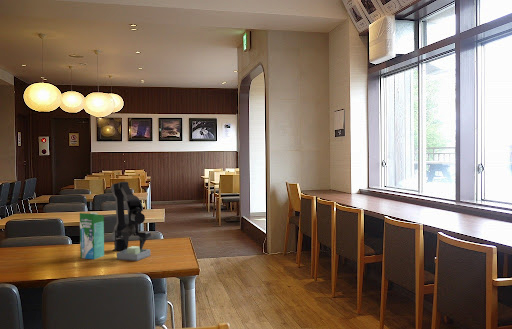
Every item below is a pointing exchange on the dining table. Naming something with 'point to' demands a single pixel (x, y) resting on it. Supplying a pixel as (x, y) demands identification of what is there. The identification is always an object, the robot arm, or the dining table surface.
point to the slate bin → (133, 255)
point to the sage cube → (133, 250)
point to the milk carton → (91, 235)
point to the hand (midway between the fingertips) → (133, 249)
